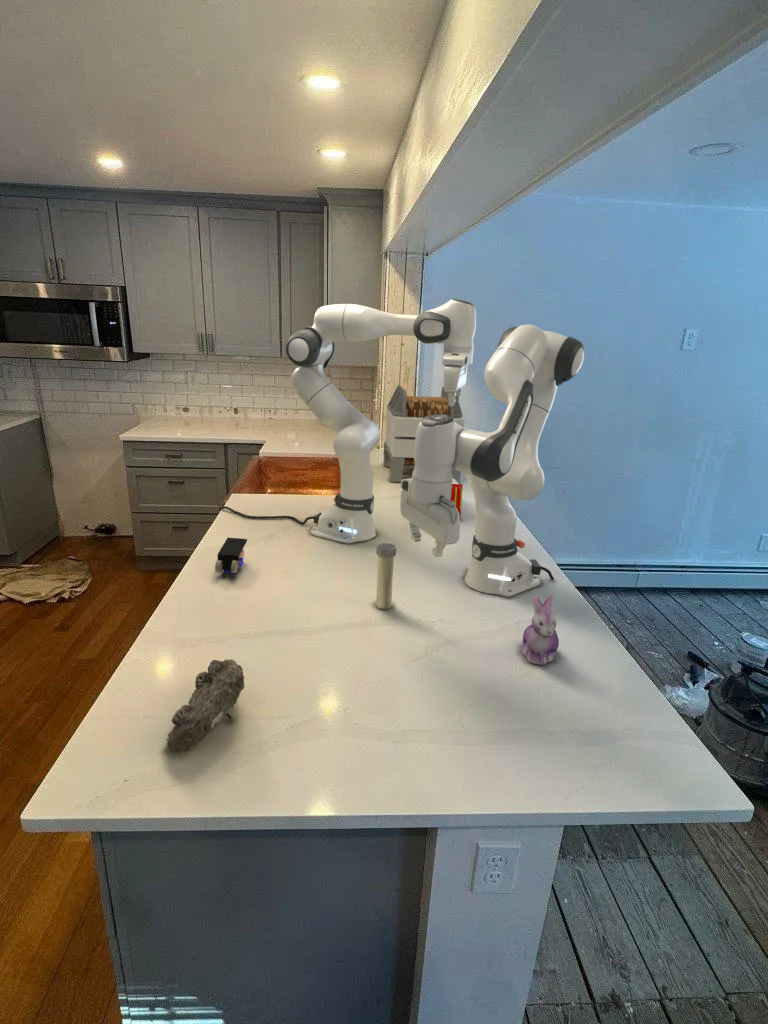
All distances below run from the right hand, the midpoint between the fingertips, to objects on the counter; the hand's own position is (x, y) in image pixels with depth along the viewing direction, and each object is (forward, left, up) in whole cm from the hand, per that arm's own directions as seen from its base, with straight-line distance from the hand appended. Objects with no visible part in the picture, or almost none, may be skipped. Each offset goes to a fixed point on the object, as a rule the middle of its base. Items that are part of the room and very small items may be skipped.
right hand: (426, 548), depth 129 cm
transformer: (-74, -127, -24) cm, 149 cm away
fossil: (+50, +8, -24) cm, 56 cm away
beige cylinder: (+1, -18, -24) cm, 30 cm away
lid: (+1, -18, -7) cm, 19 cm away
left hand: (-36, -46, +24) cm, 63 cm away
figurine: (-23, +17, -24) cm, 37 cm away
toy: (-58, -80, -24) cm, 102 cm away
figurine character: (+33, -54, -24) cm, 68 cm away
